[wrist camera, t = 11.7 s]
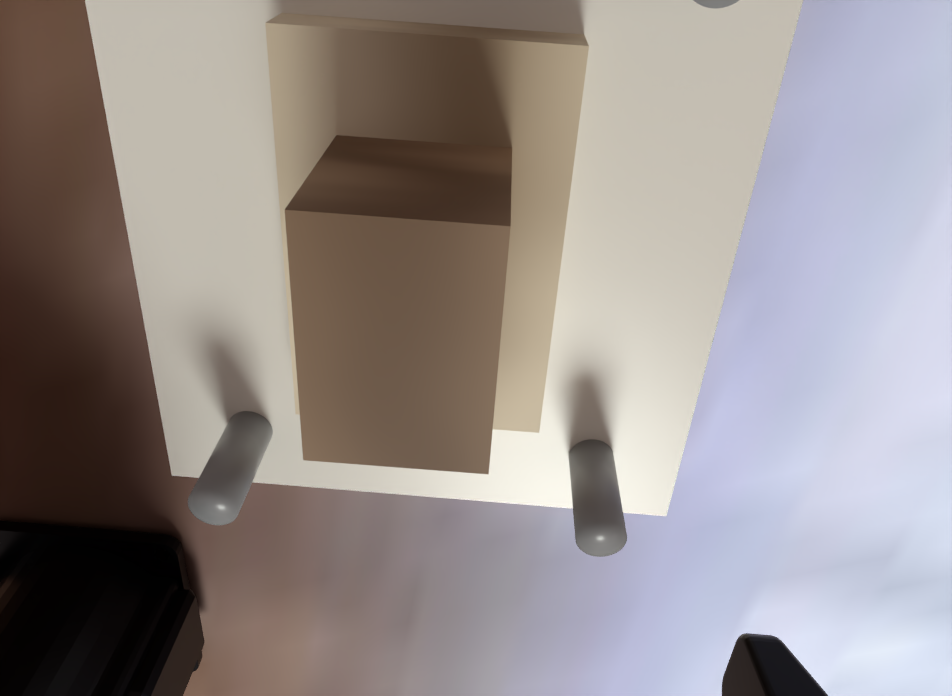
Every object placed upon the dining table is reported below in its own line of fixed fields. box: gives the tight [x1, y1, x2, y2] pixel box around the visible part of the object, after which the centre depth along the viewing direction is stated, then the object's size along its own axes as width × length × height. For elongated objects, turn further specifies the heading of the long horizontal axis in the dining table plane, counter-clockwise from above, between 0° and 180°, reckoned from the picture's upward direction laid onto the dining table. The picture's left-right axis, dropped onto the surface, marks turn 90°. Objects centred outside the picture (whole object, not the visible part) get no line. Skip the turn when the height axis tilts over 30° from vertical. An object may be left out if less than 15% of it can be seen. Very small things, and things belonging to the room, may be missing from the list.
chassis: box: [85, 0, 803, 557], centre depth 17 cm, size 14×16×4 cm
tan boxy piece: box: [265, 13, 589, 474], centre depth 15 cm, size 6×9×5 cm, turn 177°
